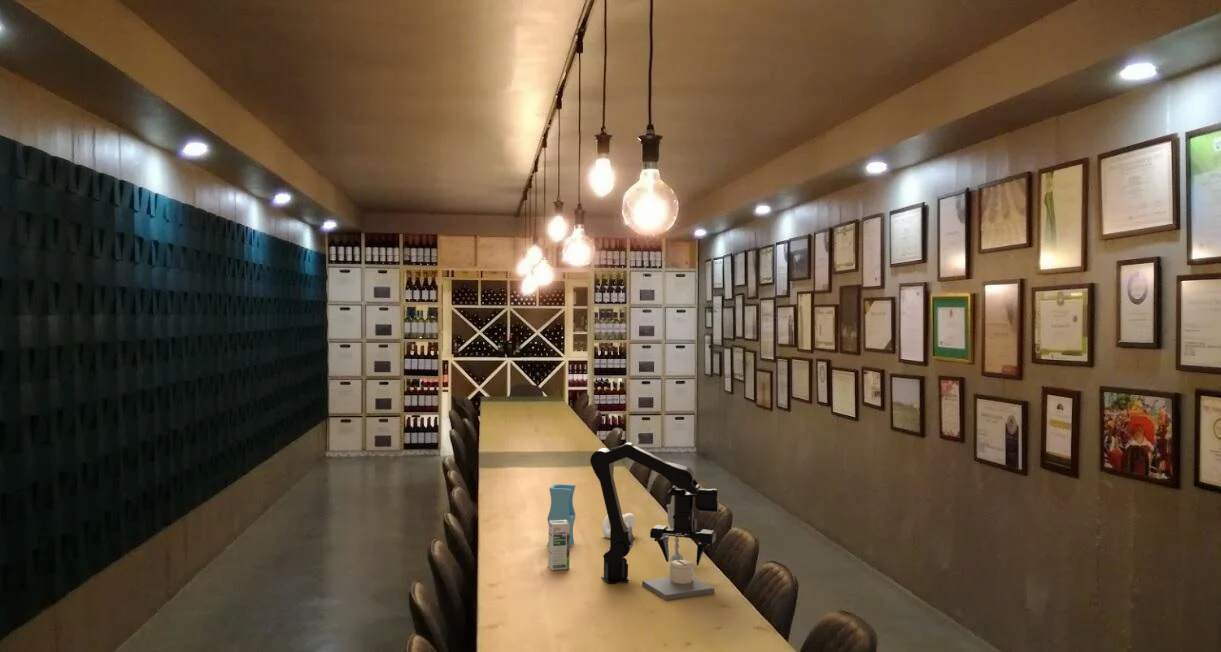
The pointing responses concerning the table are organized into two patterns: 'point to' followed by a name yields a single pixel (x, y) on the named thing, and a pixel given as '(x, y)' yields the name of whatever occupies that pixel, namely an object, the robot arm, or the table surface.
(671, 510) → the chalice
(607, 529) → the white rounded lump
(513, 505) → the table surface
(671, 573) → the knob
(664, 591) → the board
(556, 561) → the syrup box
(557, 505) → the vase
